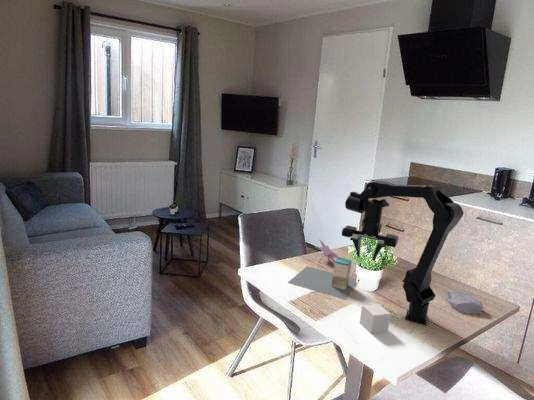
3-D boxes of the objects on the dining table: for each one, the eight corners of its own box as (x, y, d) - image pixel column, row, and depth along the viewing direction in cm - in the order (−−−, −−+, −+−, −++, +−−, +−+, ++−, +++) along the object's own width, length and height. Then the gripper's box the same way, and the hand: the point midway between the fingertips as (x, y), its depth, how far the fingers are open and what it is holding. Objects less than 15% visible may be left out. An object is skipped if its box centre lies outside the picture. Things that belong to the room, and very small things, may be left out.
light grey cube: (359, 323, 120) (362, 305, 119) (375, 321, 122) (378, 303, 121) (370, 334, 114) (373, 315, 113) (387, 331, 117) (390, 313, 115)
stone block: (456, 317, 133) (485, 314, 133) (455, 304, 132) (485, 301, 132) (440, 302, 145) (467, 299, 144) (440, 290, 144) (467, 287, 143)
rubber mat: (345, 300, 134) (345, 299, 134) (287, 283, 143) (287, 282, 143) (359, 280, 151) (359, 279, 151) (306, 267, 161) (306, 266, 161)
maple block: (344, 289, 141) (348, 264, 139) (331, 286, 143) (334, 260, 141) (348, 285, 146) (351, 259, 144) (335, 281, 148) (338, 256, 146)
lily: (337, 272, 160) (347, 251, 162) (312, 259, 160) (322, 238, 161) (328, 270, 172) (338, 250, 174) (305, 257, 172) (315, 238, 173)
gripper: (403, 217, 138) (396, 258, 142) (352, 207, 146) (346, 246, 150) (399, 223, 128) (391, 268, 132) (344, 213, 136) (338, 255, 140)
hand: (366, 258), depth 139 cm, fingers open, 5 cm apart
